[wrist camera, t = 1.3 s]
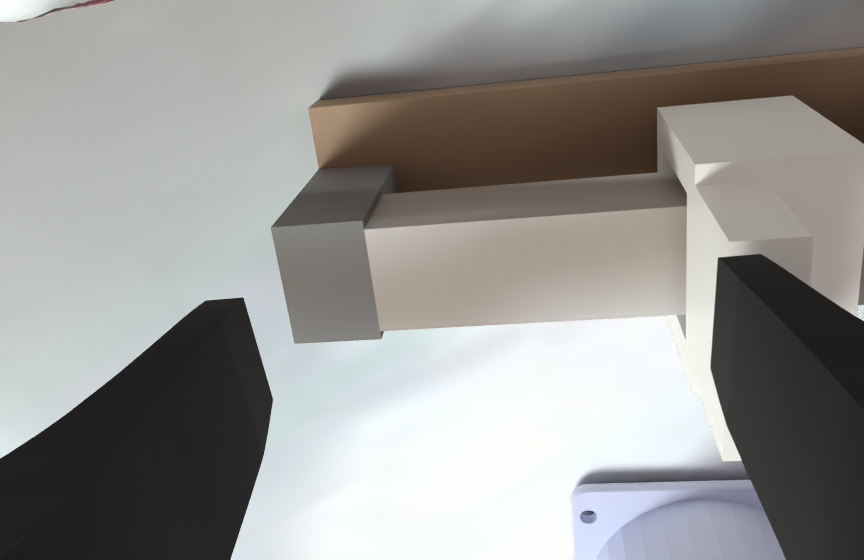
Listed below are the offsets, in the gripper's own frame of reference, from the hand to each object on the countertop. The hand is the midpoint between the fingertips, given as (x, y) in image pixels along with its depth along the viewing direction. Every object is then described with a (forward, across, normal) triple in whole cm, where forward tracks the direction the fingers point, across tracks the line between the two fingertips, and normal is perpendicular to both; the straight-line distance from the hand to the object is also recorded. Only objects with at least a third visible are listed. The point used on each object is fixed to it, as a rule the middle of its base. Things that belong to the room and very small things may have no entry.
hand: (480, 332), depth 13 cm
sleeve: (+8, -6, +2) cm, 10 cm away
